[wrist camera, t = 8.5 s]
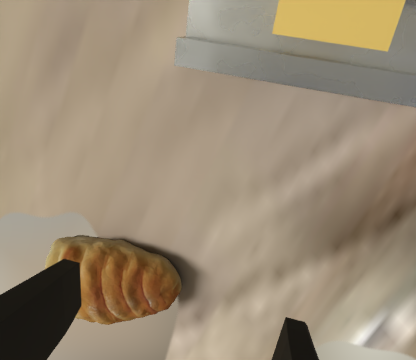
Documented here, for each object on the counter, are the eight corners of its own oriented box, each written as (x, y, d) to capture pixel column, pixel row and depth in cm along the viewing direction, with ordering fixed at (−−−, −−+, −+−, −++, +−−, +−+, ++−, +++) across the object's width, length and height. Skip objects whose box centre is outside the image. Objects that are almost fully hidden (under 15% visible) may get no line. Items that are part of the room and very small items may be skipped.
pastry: (176, 231, 23) (157, 268, 19) (190, 307, 25) (175, 351, 22) (56, 230, 25) (20, 262, 22) (81, 300, 28) (52, 339, 24)
